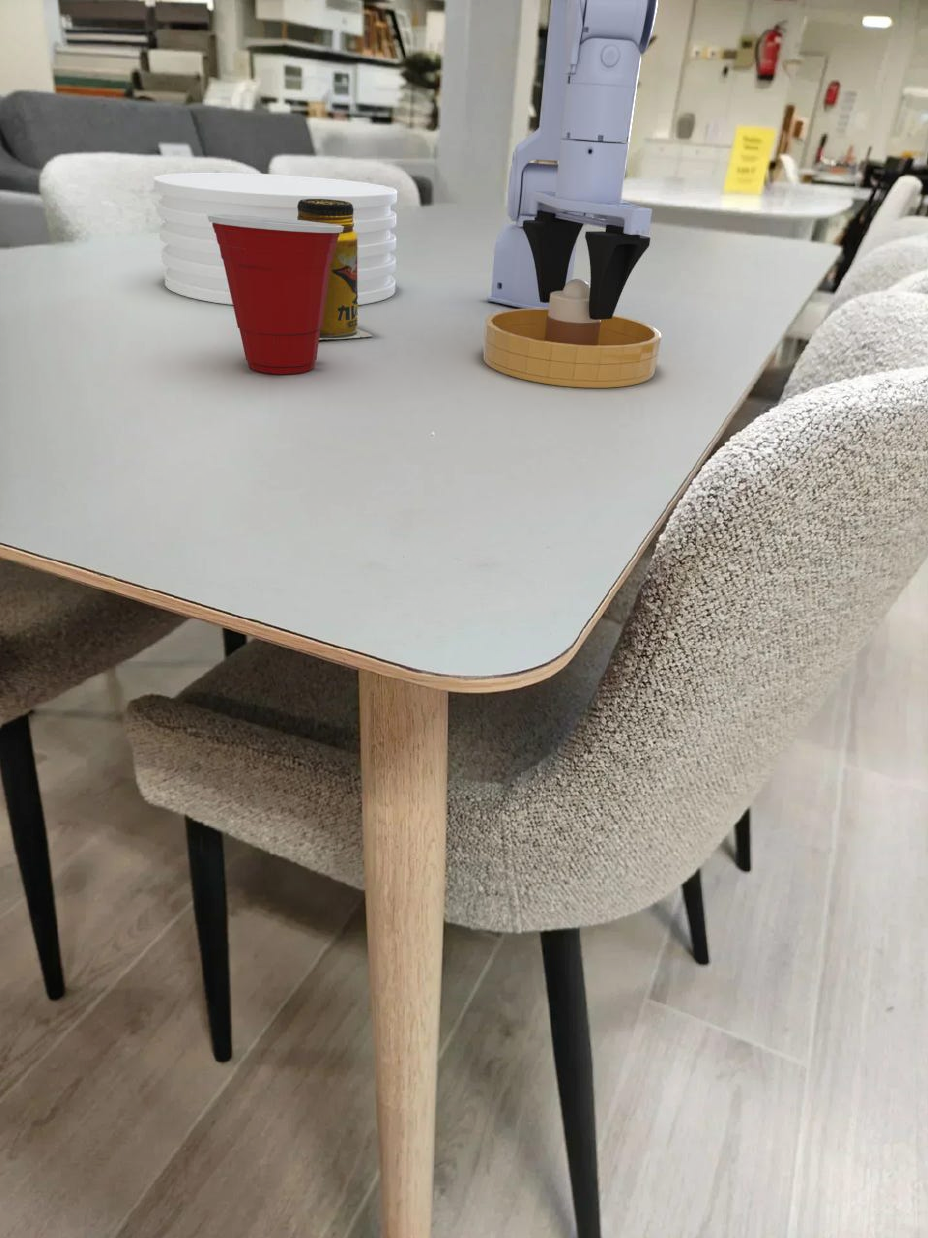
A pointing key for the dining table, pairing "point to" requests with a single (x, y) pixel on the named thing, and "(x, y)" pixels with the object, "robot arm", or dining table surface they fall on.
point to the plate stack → (266, 196)
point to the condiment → (338, 268)
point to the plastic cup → (277, 286)
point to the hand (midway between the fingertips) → (574, 309)
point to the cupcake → (571, 316)
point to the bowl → (570, 351)
